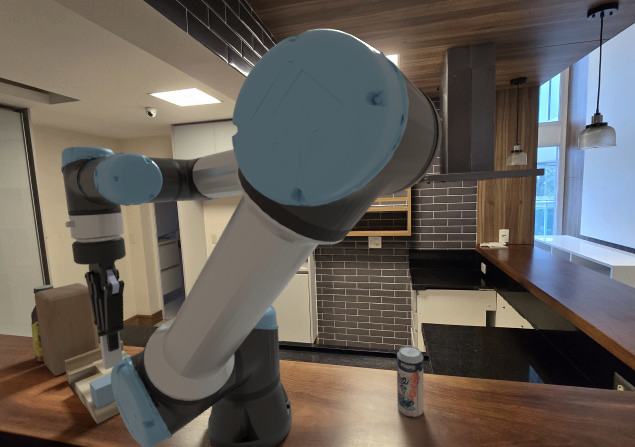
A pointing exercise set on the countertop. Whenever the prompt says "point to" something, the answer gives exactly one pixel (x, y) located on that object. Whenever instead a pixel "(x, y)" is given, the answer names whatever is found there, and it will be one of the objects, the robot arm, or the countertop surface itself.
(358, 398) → the countertop surface
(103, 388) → the cube
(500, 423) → the countertop surface
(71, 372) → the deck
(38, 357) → the sauce bottle
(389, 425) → the countertop surface
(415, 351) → the beer can
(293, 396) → the countertop surface
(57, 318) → the block
